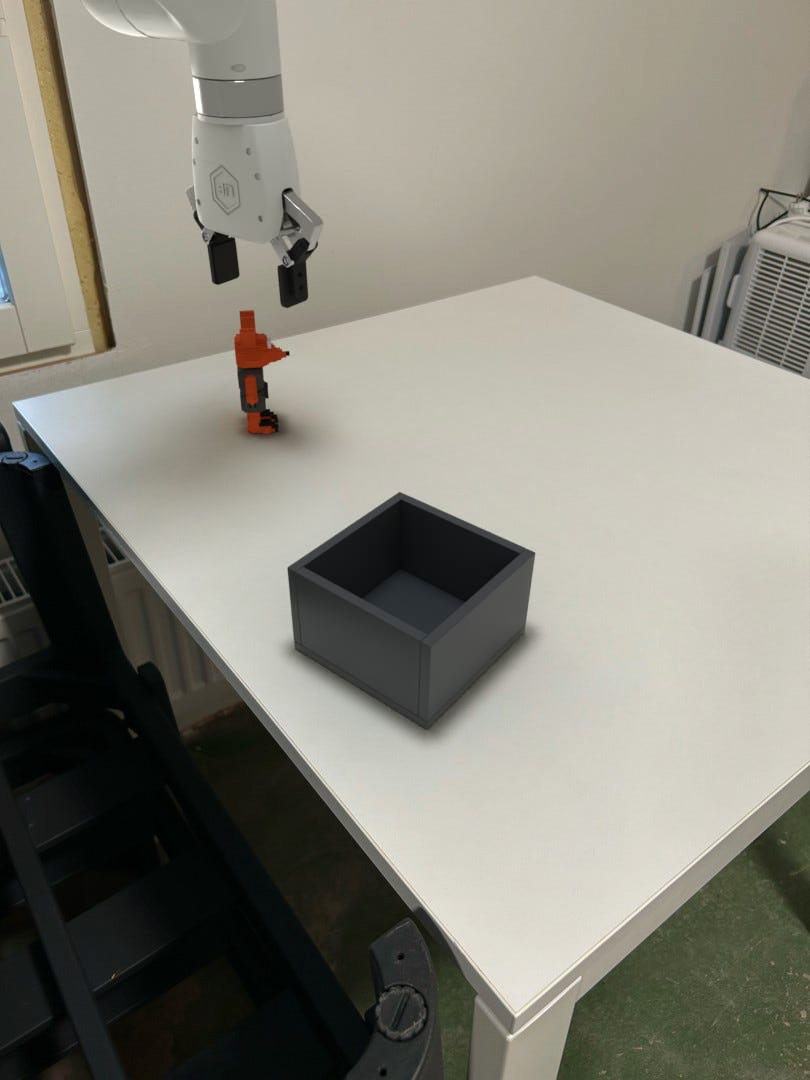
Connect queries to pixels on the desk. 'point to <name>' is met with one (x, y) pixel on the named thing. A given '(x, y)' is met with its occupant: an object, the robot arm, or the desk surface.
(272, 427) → the toy animal
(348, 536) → the bin
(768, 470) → the desk surface
